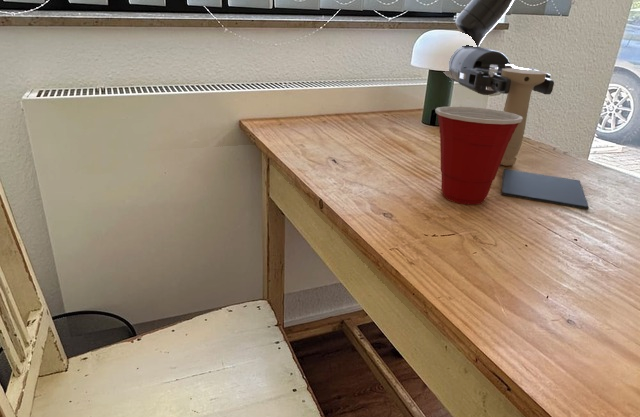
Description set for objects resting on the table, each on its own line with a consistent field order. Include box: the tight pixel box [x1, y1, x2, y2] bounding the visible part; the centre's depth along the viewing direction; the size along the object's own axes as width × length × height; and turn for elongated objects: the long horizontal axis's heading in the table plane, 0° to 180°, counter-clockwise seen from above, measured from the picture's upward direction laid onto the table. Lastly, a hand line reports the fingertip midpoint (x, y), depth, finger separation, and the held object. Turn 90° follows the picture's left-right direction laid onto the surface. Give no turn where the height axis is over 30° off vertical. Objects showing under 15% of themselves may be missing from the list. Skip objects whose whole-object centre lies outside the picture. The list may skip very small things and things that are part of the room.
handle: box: [500, 68, 547, 167], centre depth 79 cm, size 5×6×15 cm
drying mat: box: [501, 168, 589, 210], centre depth 72 cm, size 11×11×1 cm
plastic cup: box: [434, 106, 523, 206], centre depth 65 cm, size 11×11×12 cm
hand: (529, 87), depth 74 cm, fingers closed on handle, 6 cm apart
